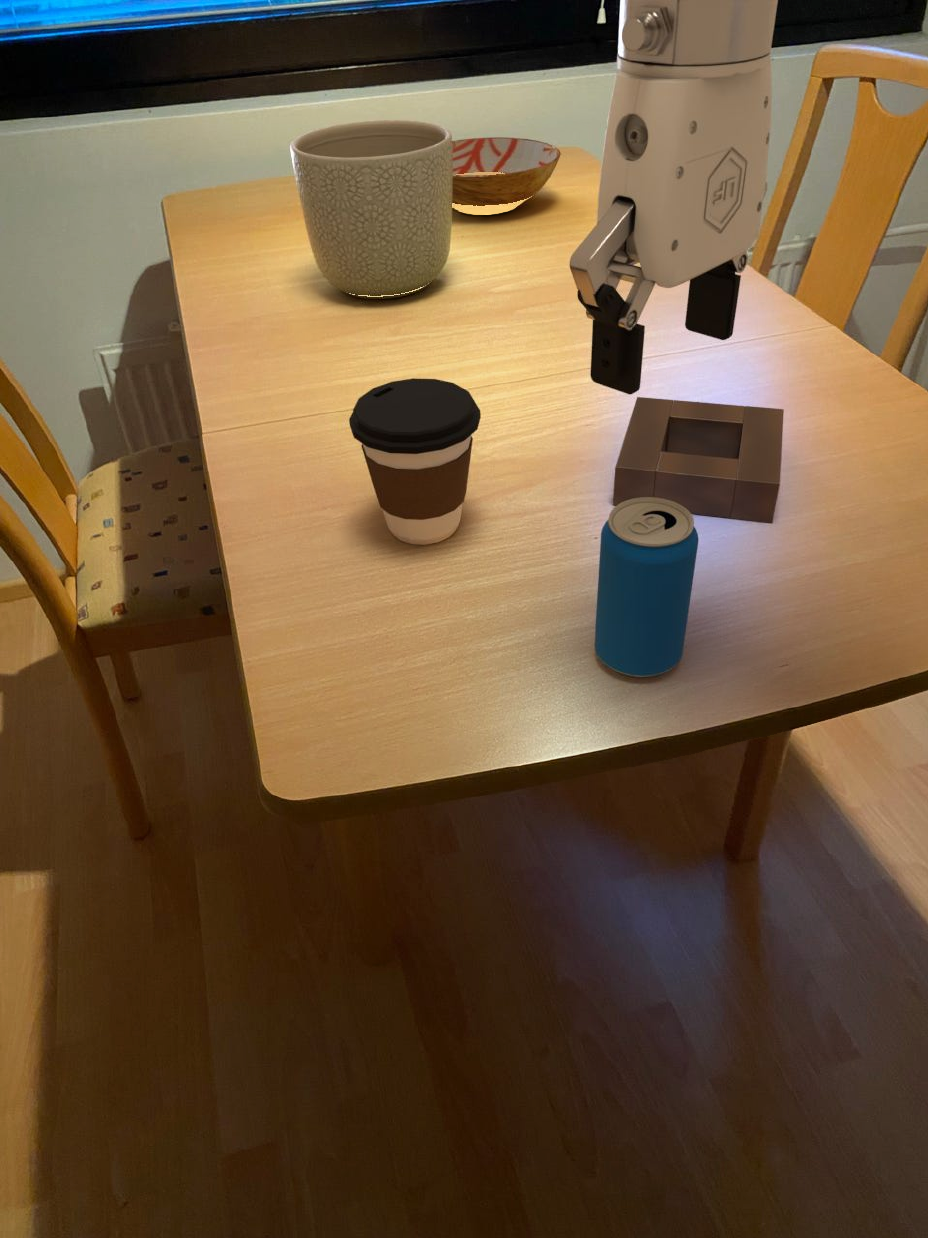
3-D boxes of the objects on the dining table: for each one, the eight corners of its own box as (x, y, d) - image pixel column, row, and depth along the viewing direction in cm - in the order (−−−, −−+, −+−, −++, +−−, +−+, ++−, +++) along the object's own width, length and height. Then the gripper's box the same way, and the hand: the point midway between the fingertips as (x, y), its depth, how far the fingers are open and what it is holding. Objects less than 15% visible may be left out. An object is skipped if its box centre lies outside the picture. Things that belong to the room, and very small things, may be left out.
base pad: (776, 445, 92) (783, 408, 90) (772, 523, 82) (779, 483, 79) (634, 432, 96) (637, 396, 93) (612, 505, 85) (615, 466, 83)
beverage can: (700, 660, 69) (721, 524, 61) (634, 696, 66) (648, 559, 58) (640, 615, 73) (653, 483, 65) (576, 648, 70) (582, 515, 63)
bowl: (589, 208, 155) (591, 156, 150) (459, 239, 146) (456, 185, 141) (509, 177, 172) (508, 129, 167) (388, 202, 163) (383, 153, 158)
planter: (302, 271, 138) (280, 129, 126) (437, 252, 141) (429, 113, 129) (325, 322, 122) (302, 166, 110) (476, 299, 126) (471, 145, 114)
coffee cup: (338, 531, 84) (319, 410, 76) (422, 481, 90) (412, 364, 82) (426, 576, 78) (415, 450, 70) (509, 519, 84) (507, 397, 76)
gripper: (654, 66, 39) (627, 430, 50) (849, 12, 49) (791, 330, 59) (522, 52, 44) (523, 391, 54) (724, 5, 53) (691, 303, 64)
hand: (663, 358), depth 57 cm, fingers open, 9 cm apart
